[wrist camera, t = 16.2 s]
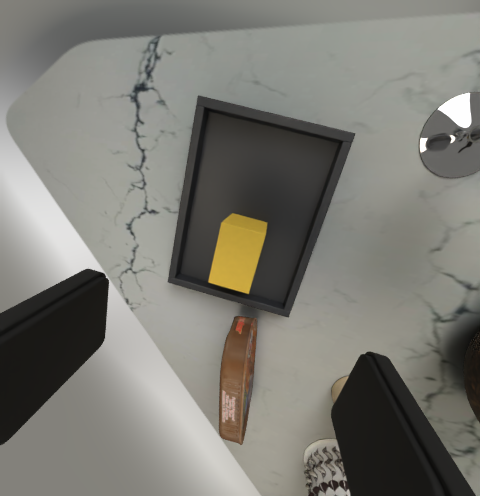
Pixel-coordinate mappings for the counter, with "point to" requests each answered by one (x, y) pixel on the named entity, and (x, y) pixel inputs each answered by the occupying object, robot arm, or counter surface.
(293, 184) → the tray
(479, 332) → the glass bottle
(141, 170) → the counter surface
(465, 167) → the wine glass
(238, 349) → the tin
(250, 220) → the sponge
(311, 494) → the decorative candle
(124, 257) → the counter surface
